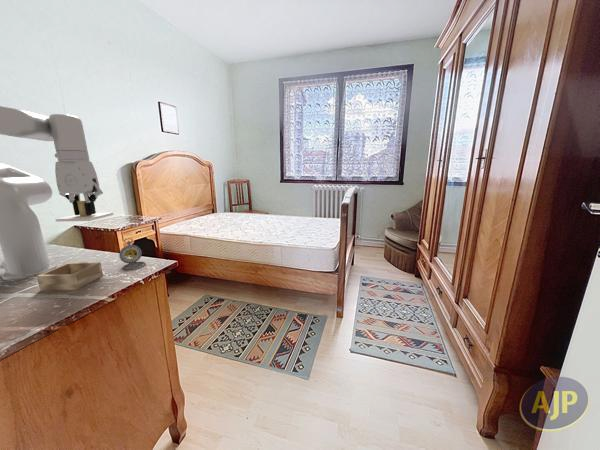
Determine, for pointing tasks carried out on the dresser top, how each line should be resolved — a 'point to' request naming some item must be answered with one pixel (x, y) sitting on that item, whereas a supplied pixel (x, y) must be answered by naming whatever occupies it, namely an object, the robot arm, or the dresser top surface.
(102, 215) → the lid
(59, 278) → the keepsake box
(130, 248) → the pocket watch
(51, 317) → the dresser top surface
